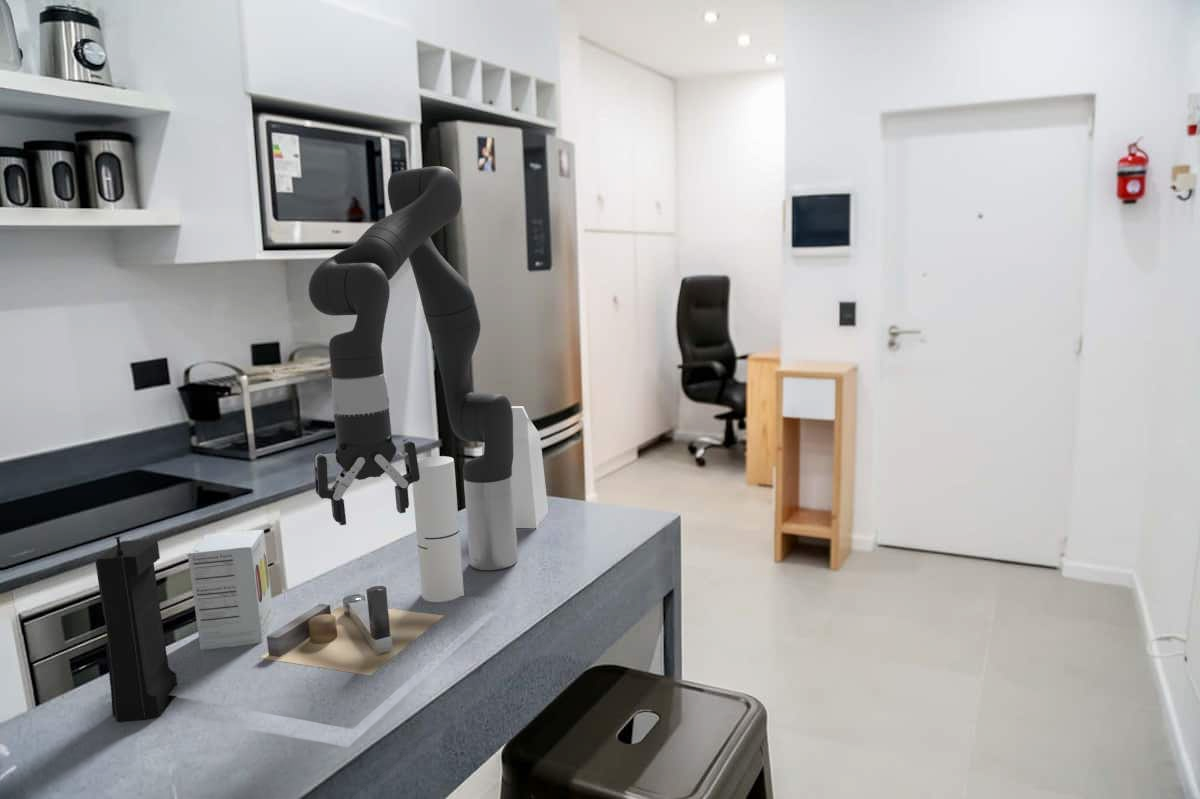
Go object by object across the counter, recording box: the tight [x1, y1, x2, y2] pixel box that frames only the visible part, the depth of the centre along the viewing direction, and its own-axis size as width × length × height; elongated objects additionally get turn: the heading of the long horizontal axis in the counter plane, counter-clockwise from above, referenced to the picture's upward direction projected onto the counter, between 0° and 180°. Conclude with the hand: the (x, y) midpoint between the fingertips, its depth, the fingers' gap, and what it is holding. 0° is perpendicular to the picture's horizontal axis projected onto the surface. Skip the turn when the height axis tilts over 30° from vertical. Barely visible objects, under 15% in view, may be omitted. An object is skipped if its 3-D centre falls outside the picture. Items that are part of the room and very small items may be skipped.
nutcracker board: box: [259, 603, 445, 676], centre depth 128 cm, size 20×20×4 cm
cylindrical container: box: [411, 455, 465, 603], centre depth 141 cm, size 7×7×25 cm
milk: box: [481, 405, 549, 529], centre depth 184 cm, size 12×12×26 cm
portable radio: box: [95, 536, 178, 722], centre depth 111 cm, size 8×6×25 cm
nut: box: [308, 614, 337, 644], centre depth 127 cm, size 4×4×3 cm
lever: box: [342, 585, 393, 654], centre depth 128 cm, size 19×4×9 cm, turn 30°
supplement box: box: [187, 529, 275, 650], centre depth 130 cm, size 10×9×17 cm
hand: (372, 517), depth 119 cm, fingers open, 8 cm apart
